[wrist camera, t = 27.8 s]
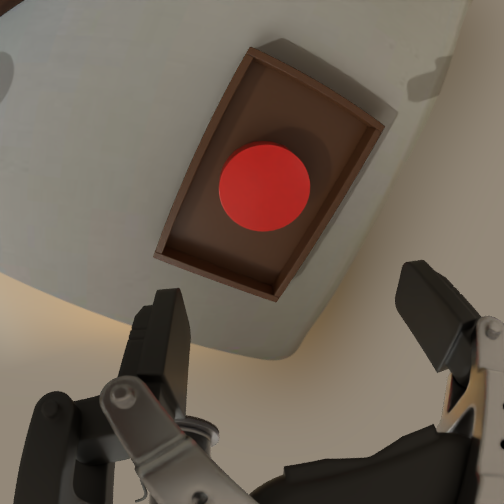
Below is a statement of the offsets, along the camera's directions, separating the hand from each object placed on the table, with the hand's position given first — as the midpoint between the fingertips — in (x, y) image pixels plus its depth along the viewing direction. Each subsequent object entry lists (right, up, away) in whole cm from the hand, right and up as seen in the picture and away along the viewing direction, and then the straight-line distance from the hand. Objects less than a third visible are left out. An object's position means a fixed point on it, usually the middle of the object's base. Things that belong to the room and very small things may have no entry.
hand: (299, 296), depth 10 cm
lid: (-1, +6, +11) cm, 12 cm away
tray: (-1, +7, +13) cm, 14 cm away
